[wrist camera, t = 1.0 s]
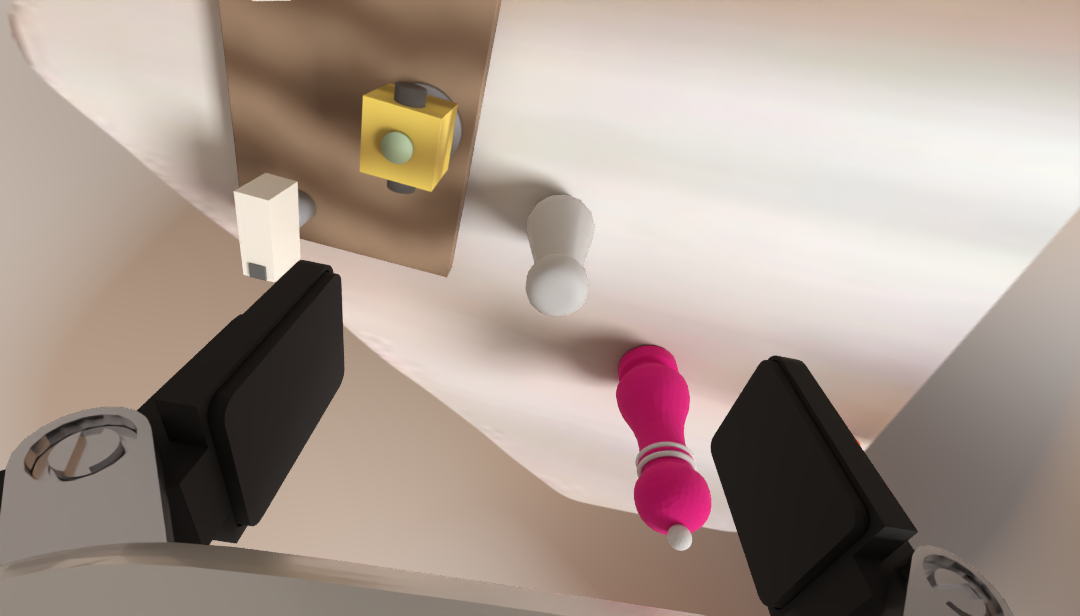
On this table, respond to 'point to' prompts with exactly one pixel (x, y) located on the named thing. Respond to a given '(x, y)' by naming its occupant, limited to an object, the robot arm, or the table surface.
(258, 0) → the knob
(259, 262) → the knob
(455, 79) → the level base
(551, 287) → the salt shaker
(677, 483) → the pepper mill
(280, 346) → the robot arm
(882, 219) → the table surface
